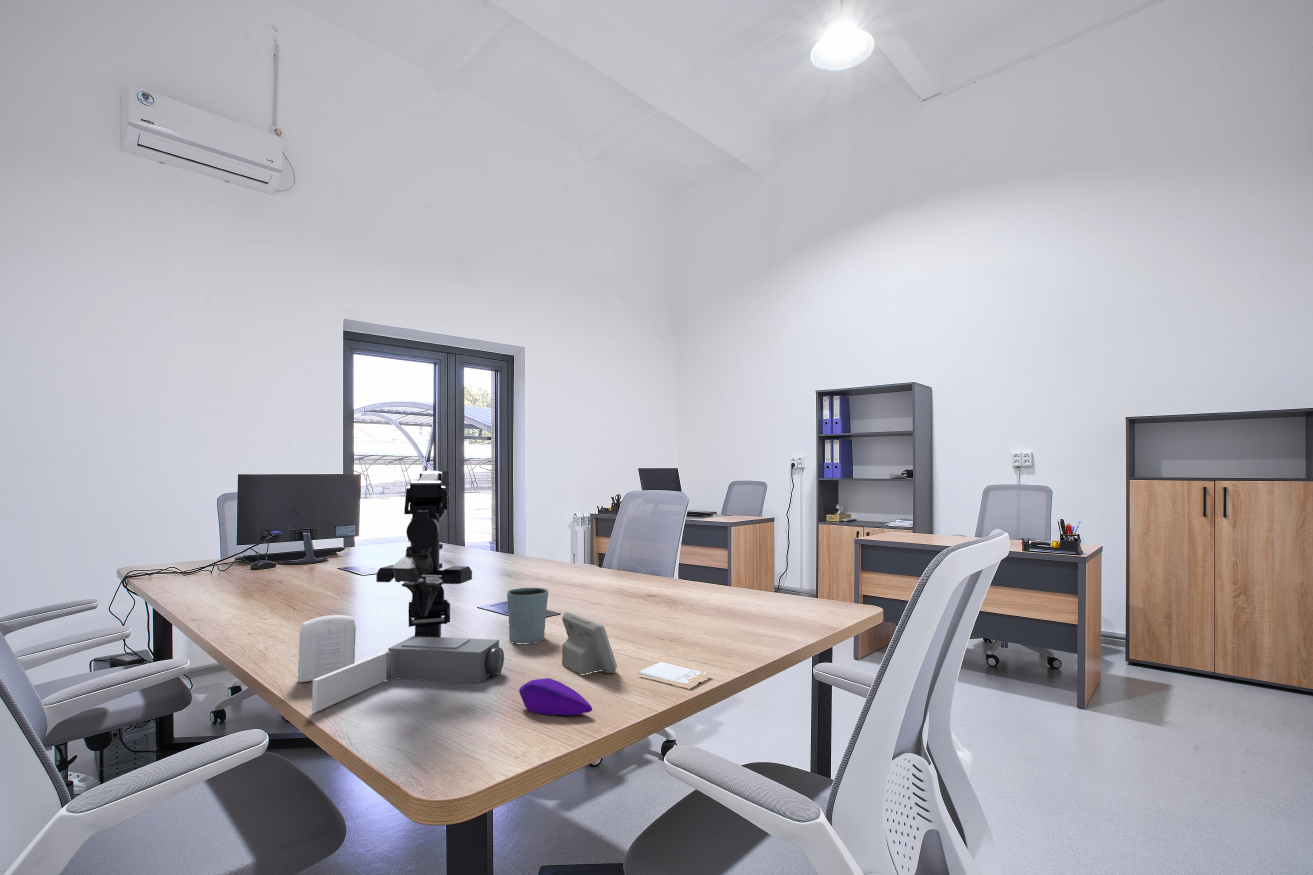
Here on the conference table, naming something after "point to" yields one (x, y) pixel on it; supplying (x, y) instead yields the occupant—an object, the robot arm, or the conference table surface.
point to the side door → (350, 680)
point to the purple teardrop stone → (552, 698)
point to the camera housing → (446, 659)
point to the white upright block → (325, 646)
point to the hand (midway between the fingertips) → (423, 615)
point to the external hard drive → (669, 672)
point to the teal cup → (527, 614)
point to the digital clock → (586, 646)
